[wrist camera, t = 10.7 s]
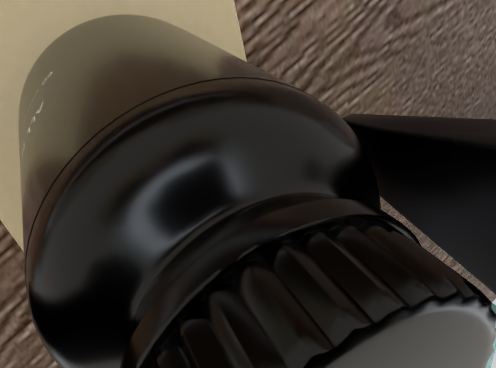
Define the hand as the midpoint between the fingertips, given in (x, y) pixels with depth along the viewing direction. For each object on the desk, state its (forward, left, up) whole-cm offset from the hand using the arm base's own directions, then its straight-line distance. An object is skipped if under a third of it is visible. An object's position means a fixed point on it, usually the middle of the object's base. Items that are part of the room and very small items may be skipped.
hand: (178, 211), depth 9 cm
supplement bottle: (0, 0, -6) cm, 6 cm away
